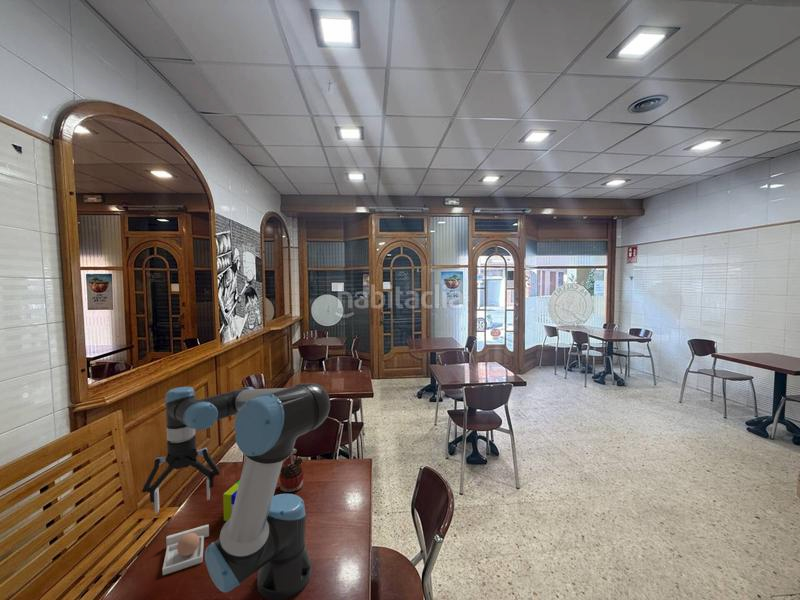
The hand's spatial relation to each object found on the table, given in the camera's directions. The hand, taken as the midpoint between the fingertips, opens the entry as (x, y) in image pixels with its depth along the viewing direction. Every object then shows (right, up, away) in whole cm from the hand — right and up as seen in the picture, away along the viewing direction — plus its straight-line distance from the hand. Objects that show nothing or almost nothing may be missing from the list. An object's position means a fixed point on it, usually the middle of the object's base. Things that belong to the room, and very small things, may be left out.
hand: (183, 504), depth 106 cm
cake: (+22, -16, +38) cm, 47 cm away
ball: (0, -16, +1) cm, 16 cm away
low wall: (-3, -17, +7) cm, 19 cm away
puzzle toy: (+9, -17, +21) cm, 29 cm away
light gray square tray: (0, -17, +1) cm, 17 cm away
